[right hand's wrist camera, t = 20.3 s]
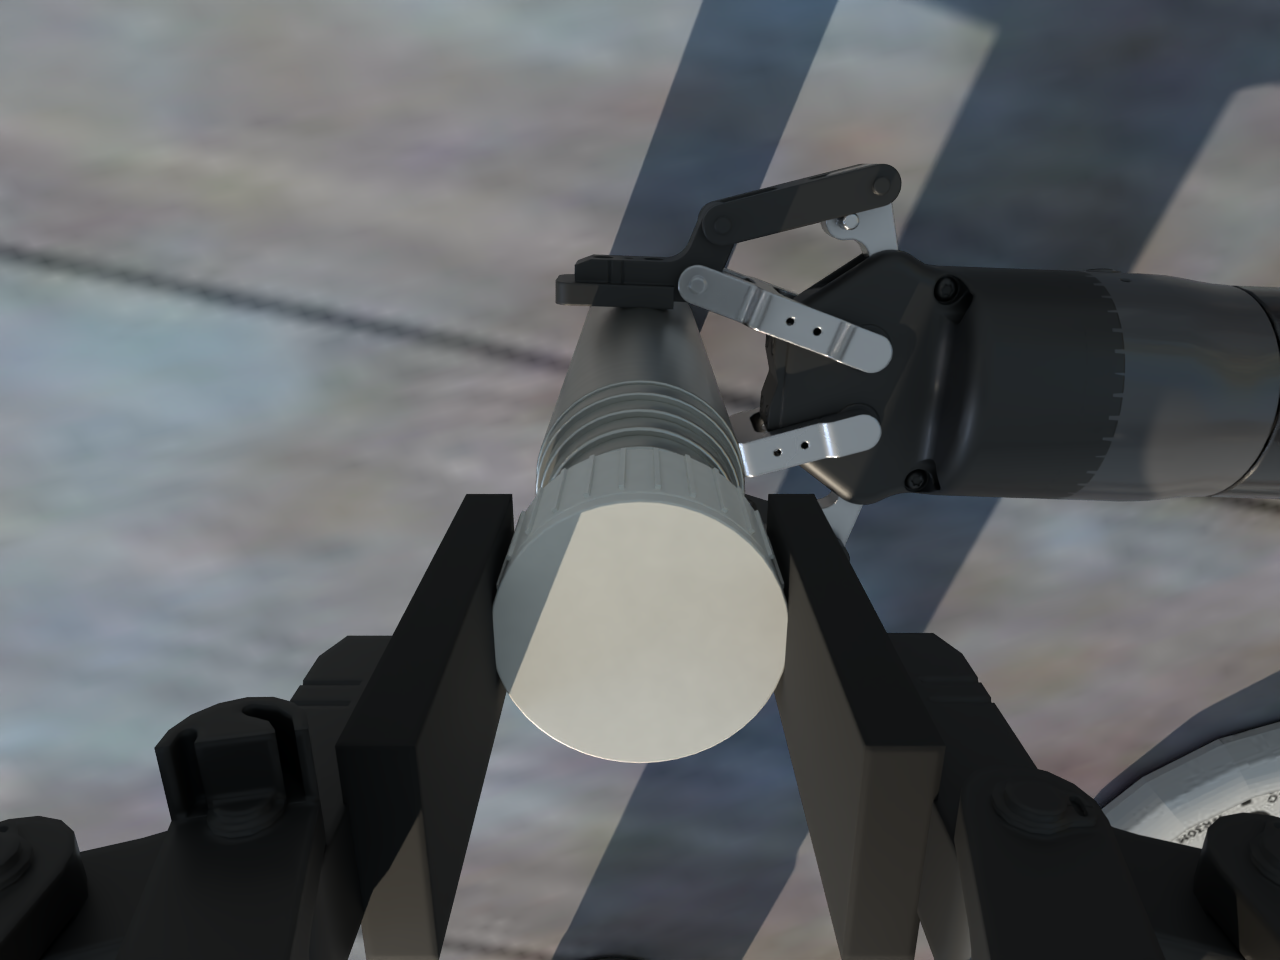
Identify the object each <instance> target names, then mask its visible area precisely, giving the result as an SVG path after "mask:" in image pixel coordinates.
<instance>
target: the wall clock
mask: <svg viewBox="0 0 1280 960" xmlns="http://www.w3.org/2000/svg"><path fill="white" fill-rule="evenodd" d="M1101 810H1102V811H1103V813H1104V814H1105V815H1106V817H1107V818H1108V820H1109V822H1110V825H1111V826H1112V827H1114V828H1118V829H1121V830H1125V831H1128V832H1131V833H1135V834H1138V835H1143V836H1147V837H1152V838H1156V839H1161V840H1165V841H1170V842H1174V843H1179V844H1183V845H1187V846H1192V847H1196V848H1201V849H1202V847H1203V843H1204V840H1205V836H1206V833H1207V829H1208V827H1209V826H1211V825H1212V824H1213V823H1214V822H1215V821H1216V820H1217V819H1218V818H1219V817H1221V816H1226V815H1231V814H1237V813H1242V812H1245V813H1254V814H1263V815H1272V816H1276V817H1279V818H1280V722H1277V723H1273V724H1270V725H1266V726H1263V727H1259V728H1256V729H1252V730H1249V731H1245V732H1241V733H1238V734H1234V735H1231V736H1227V737H1224V738H1220V739H1217V740H1215V741H1213V742H1211V743H1209V744H1207V745H1205V746H1203V747H1201V748H1199V749H1197V750H1195V751H1194V752H1192V753H1190V754H1188V755H1186V756H1184V757H1182V758H1180V759H1178V760H1176V761H1174V762H1172V763H1170V764H1168V765H1166V766H1164V767H1162V768H1160V769H1158V770H1156V771H1154V772H1152V773H1150V774H1148V775H1146V776H1144V777H1142V778H1141V779H1139V780H1138V781H1137V782H1136V783H1134V784H1133V785H1132V786H1131V787H1129V788H1128V789H1127V790H1126V791H1124V792H1123V793H1122V794H1120V795H1119V796H1118V797H1117V798H1115V799H1114V800H1113V801H1112V802H1110V803H1109V804H1108V805H1106V806H1105V807H1104V808H1103V809H1101Z"/></svg>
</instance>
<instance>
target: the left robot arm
mask: <svg viewBox="0 0 1280 960" xmlns="http://www.w3.org/2000/svg"><path fill="white" fill-rule="evenodd" d="M900 190H901V178H900V175H899V173H898V171H897V170H896V169H895V168H894V167H892V166H890V165H887V164H858V165H854V166H850V167H846V168H842V169H838V170H834V171H831V172H827V173H823V174H819V175H815V176H811V177H807V178H803V179H799V180H795V181H791V182H787V183H783V184H779V185H775V186H771V187H767V188H764V189H760V190H756V191H752V192H748V193H744V194H740V195H736V196H732V197H728V198H724V199H720V200H716V201H712V202H710V203H708V204H706V205H705V206H704V207H703V208H702V209H701V211H700V213H699V216H698V221H697V223H696V226H695V228H694V231H693V233H692V236H691V238H690V240H689V243H688V245H687V246H686V248H685V249H684V250H683V251H682V252H680V253H679V254H677V255H675V256H672V257H643V256H617V255H591V256H588V257H585V258H583V259H580V260H578V261H577V263H576V264H575V274H564V275H559V276H558V278H557V279H556V303H557V304H561V305H573V306H599V307H625V308H638V307H640V308H652V309H673V307H674V302H688V303H690V304H693V305H695V306H698V307H701V308H703V309H706V310H709V311H711V312H714V313H717V314H720V315H722V316H725V317H728V318H730V319H733V320H736V321H738V322H740V323H742V324H744V325H746V326H748V327H750V328H752V329H754V330H757V331H759V332H762V333H765V334H766V344H765V348H766V353H767V359H768V364H769V372H768V375H767V378H766V380H765V383H764V386H763V388H762V391H761V401H760V407H759V408H755V409H751V410H748V411H744V412H740V413H737V414H734V415H732V416H730V417H729V419H730V422H731V425H732V428H733V431H734V434H735V436H736V439H737V442H738V445H739V448H740V451H741V454H742V459H743V465H744V476H745V477H755V476H759V475H763V474H767V473H771V472H775V471H778V470H782V469H786V468H790V467H794V466H797V465H799V466H801V467H802V468H803V469H804V470H806V471H807V472H808V473H810V474H811V475H812V476H813V477H815V478H816V479H817V480H819V481H820V482H821V483H822V484H824V485H825V486H826V487H828V488H829V489H830V490H831V492H830V493H829V494H828V495H827V496H826V497H824V498H821V499H817V501H818V503H819V505H820V506H821V508H822V510H823V512H824V514H825V516H826V518H827V520H828V522H829V524H830V526H831V527H832V529H833V531H834V533H835V535H836V537H837V539H838V541H839V543H840V545H841V547H842V548H843V550H844V552H845V554H846V556H847V558H848V560H849V562H850V557H849V554H848V552H847V550H846V548H845V545H846V542H847V540H848V537H849V535H850V533H851V531H852V528H853V526H854V524H855V522H856V519H857V517H858V515H859V513H860V510H861V508H862V506H863V505H867V504H872V503H876V502H878V501H880V500H882V499H884V498H886V497H889V496H892V495H895V494H899V493H907V492H911V493H921V494H931V495H952V496H980V497H1009V498H1041V499H1067V500H1097V501H1148V500H1160V499H1168V498H1177V497H1198V496H1210V497H1238V498H1266V499H1280V288H1279V287H1253V286H1230V285H1220V284H1211V283H1205V282H1199V281H1194V280H1189V279H1184V278H1178V277H1172V276H1165V275H1153V274H1134V273H1121V272H1119V271H1114V270H1112V269H1090V270H1086V271H1083V272H1081V271H1061V270H1034V269H1008V268H982V267H955V266H935V265H927V264H924V263H922V262H920V261H919V260H917V259H916V258H915V257H913V256H912V255H910V254H908V253H906V252H903V251H900V250H898V243H897V236H896V228H895V221H894V213H893V206H892V202H893V201H894V200H895V199H896V198H897V196H898V194H899V192H900ZM819 222H821V226H822V228H823V230H824V231H825V233H826V234H828V235H829V236H831V237H834V238H836V239H840V240H855V241H856V242H857V243H858V244H859V245H860V247H861V249H862V254H860V255H859V256H857V257H856V258H854V259H853V260H851V261H850V262H848V263H847V264H845V265H844V266H842V267H840V268H839V269H837V270H836V271H834V272H833V273H831V274H830V275H828V276H827V277H825V278H824V279H822V280H820V281H819V282H817V283H816V284H814V285H813V286H811V287H810V288H808V289H807V290H805V291H804V292H802V293H800V294H796V293H793V292H791V291H788V290H786V289H783V288H780V287H778V286H775V285H772V284H770V283H767V282H764V281H762V280H759V279H756V278H753V277H750V276H746V275H743V274H740V273H738V272H735V271H732V270H730V269H727V268H724V267H725V264H726V262H727V260H728V257H729V255H730V253H731V250H732V248H733V246H734V244H735V243H739V242H743V241H747V240H751V239H755V238H759V237H763V236H767V235H771V234H775V233H779V232H783V231H787V230H791V229H795V228H799V227H803V226H807V225H811V224H815V223H819ZM763 424H764V425H765V426H762V425H763ZM776 449H779V450H778V451H776V452H774V451H775V450H776ZM745 498H746V499H747V501H748V502H749V503H750V505H751V506H752V508H753V509H754V511H756V510H758V511H759V513H760V516H761V519H762V522H763V525H764V527H765V530H766V529H767V511H768V501H766V500H763V499H760V498H757V497H753V496H750V495H747V494H745ZM597 960H630V959H620V958H606V959H597Z"/></svg>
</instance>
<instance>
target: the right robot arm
mask: <svg viewBox="0 0 1280 960" xmlns="http://www.w3.org/2000/svg"><path fill="white" fill-rule="evenodd" d="M766 533H767V536H768V537H769V540H770V543H771V546H772V549H773V552H774V555H775V558H776V561H777V564H778V567H779V570H780V573H781V576H782V578H783V581H784V588H783V591H784V594H785V597H786V600H787V603H788V622H787V636H786V651H785V665H784V671H783V673H782V676H781V678H780V680H779V682H778V684H777V686H776V688H775V690H774V693H775V697H776V701H777V705H778V709H779V713H780V717H781V721H782V725H783V729H784V733H785V737H786V741H787V745H788V749H789V753H790V757H791V761H792V765H793V769H794V773H795V777H796V781H797V785H798V789H799V792H800V796H801V800H802V804H803V808H804V812H805V816H806V820H807V824H808V828H809V832H810V836H811V840H812V844H813V848H814V852H815V856H816V860H817V864H818V868H819V872H820V876H821V880H822V884H823V888H824V892H825V896H826V899H827V903H828V907H829V911H830V915H831V919H832V923H833V927H834V931H835V935H836V939H837V943H838V947H839V951H840V955H841V959H842V960H914V957H915V950H916V943H917V936H918V930H919V923H920V922H921V924H922V927H923V930H924V932H925V935H926V938H927V941H928V943H929V946H930V949H931V951H932V954H933V957H934V960H1280V818H1279V817H1276V816H1272V815H1263V814H1254V813H1245V812H1242V813H1237V814H1231V815H1226V816H1221V817H1219V818H1218V819H1217V820H1216V821H1215V822H1214V823H1213V824H1212V825H1211V826H1209V827H1208V829H1207V833H1206V836H1205V840H1204V843H1203V847H1202V849H1201V848H1196V847H1192V846H1187V845H1183V844H1179V843H1174V842H1170V841H1165V840H1161V839H1156V838H1152V837H1147V836H1143V835H1138V834H1135V833H1131V832H1128V831H1125V830H1121V829H1118V828H1114V827H1112V826H1111V825H1110V822H1109V820H1108V818H1107V817H1106V815H1105V814H1104V813H1103V811H1102V810H1101V808H1100V807H1099V805H1098V804H1097V802H1096V801H1095V800H1094V799H1092V798H1091V797H1090V796H1089V795H1087V794H1086V793H1085V792H1084V791H1082V790H1081V789H1080V788H1078V787H1077V786H1076V785H1075V784H1073V783H1071V782H1069V781H1067V780H1064V779H1062V778H1060V777H1058V776H1056V775H1054V774H1052V773H1050V772H1047V771H1043V770H1039V769H1037V767H1036V766H1035V764H1034V763H1033V761H1032V760H1031V758H1030V757H1029V755H1028V753H1027V752H1026V750H1025V749H1024V747H1023V746H1022V744H1021V743H1020V741H1019V740H1018V738H1017V737H1016V735H1015V734H1014V732H1013V731H1012V729H1011V728H1010V726H1009V724H1008V723H1007V721H1006V720H1005V718H1004V717H1003V715H1002V714H1001V712H1000V711H999V709H998V708H997V706H996V705H995V703H991V697H990V695H989V694H988V692H987V691H986V689H985V688H984V686H983V685H982V683H978V677H977V676H976V674H975V673H974V671H973V669H972V668H971V666H970V665H969V663H968V662H967V660H966V659H965V657H964V656H963V654H962V653H960V652H959V651H958V650H956V649H955V648H953V647H952V646H951V645H949V644H948V643H946V642H945V641H944V640H942V639H941V638H939V637H938V636H937V635H935V634H934V633H886V631H885V629H884V627H883V625H882V623H881V621H880V619H879V617H878V615H877V613H876V612H875V610H874V608H873V606H872V604H871V602H870V600H869V598H868V596H867V594H866V592H865V591H864V589H863V587H862V585H861V583H860V581H859V579H858V577H857V575H856V573H855V571H854V570H853V568H852V566H851V564H850V562H849V560H848V558H847V556H846V554H845V552H844V550H843V548H842V547H841V545H840V543H839V541H838V539H837V537H836V535H835V533H834V531H833V529H832V527H831V526H830V524H829V522H828V520H827V518H826V516H825V514H824V512H823V510H822V508H821V506H820V505H819V503H818V501H817V499H816V497H815V495H814V494H768V511H767V529H766ZM513 535H514V520H513V501H512V494H466V496H465V498H464V500H463V502H462V504H461V506H460V507H459V509H458V511H457V513H456V515H455V517H454V519H453V521H452V523H451V525H450V527H449V528H448V530H447V532H446V534H445V536H444V538H443V540H442V542H441V544H440V546H439V548H438V550H437V551H436V553H435V555H434V557H433V559H432V561H431V563H430V565H429V567H428V569H427V571H426V572H425V574H424V576H423V578H422V580H421V582H420V584H419V586H418V588H417V590H416V592H415V593H414V595H413V597H412V599H411V601H410V603H409V605H408V607H407V609H406V611H405V613H404V614H403V616H402V618H401V620H400V622H399V624H398V626H397V628H396V630H395V632H394V634H393V636H347V637H345V638H344V639H342V640H341V641H340V642H338V643H337V644H335V645H334V646H333V647H331V648H330V649H329V650H327V651H326V652H324V653H323V654H322V655H320V656H319V657H318V658H317V660H316V662H315V663H314V665H313V666H312V668H311V669H310V671H309V672H308V674H307V675H306V677H305V678H304V680H303V685H300V686H299V688H298V689H297V691H296V692H295V694H294V695H293V697H292V698H291V700H290V701H287V700H283V699H279V698H276V697H246V698H241V699H237V700H232V701H227V702H223V703H218V704H216V705H214V706H211V707H209V708H206V709H204V710H202V711H199V712H197V713H194V714H192V715H190V716H189V717H187V718H186V719H184V720H183V721H181V722H180V723H178V724H177V725H176V726H174V727H173V728H171V729H170V730H168V732H167V733H166V734H165V735H164V737H163V738H162V739H161V740H160V742H159V743H158V744H157V745H156V747H155V753H156V757H157V761H158V765H159V770H160V774H161V778H162V782H163V786H164V791H165V795H166V799H167V803H168V808H169V812H170V816H171V820H172V821H171V824H170V826H169V829H168V831H165V832H162V833H158V834H155V835H151V836H148V837H145V838H141V839H136V840H132V841H127V842H123V843H118V844H114V845H109V846H105V847H101V848H96V849H92V850H87V851H83V852H80V851H79V848H78V844H77V841H76V837H75V834H74V831H73V830H71V829H70V828H69V827H68V826H67V825H66V824H65V823H64V822H63V821H62V820H58V819H52V818H47V817H42V816H33V817H24V818H15V819H8V820H5V821H1V822H0V960H348V957H349V954H350V952H351V949H352V946H353V944H354V941H355V938H356V935H357V933H358V930H359V927H360V924H361V926H362V933H363V940H364V946H365V953H366V960H439V957H440V953H441V949H442V945H443V941H444V937H445V933H446V929H447V925H448V921H449V917H450V913H451V909H452V905H453V902H454V898H455V894H456V890H457V886H458V882H459V878H460V874H461V870H462V866H463V862H464V858H465V854H466V850H467V846H468V842H469V838H470V834H471V830H472V826H473V822H474V818H475V814H476V810H477V806H478V802H479V798H480V794H481V790H482V787H483V783H484V779H485V775H486V771H487V767H488V763H489V759H490V755H491V751H492V747H493V743H494V739H495V735H496V731H497V727H498V723H499V719H500V715H501V711H502V707H503V703H504V699H505V695H506V689H505V687H504V685H503V683H502V681H501V679H500V677H499V674H498V672H497V669H496V658H495V643H494V628H493V612H492V606H493V602H494V599H495V596H496V592H497V585H496V584H497V581H498V578H499V575H500V572H501V569H502V566H503V564H504V561H505V558H506V555H507V552H508V549H509V546H510V543H511V540H512V537H513Z"/></svg>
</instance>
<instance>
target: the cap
mask: <svg viewBox="0 0 1280 960" xmlns="http://www.w3.org/2000/svg"><path fill="white" fill-rule="evenodd" d="M496 585H497V592H496V596H495V599H494V602H493V606H492V612H493V628H494V643H495V658H496V669H497V672H498V674H499V677H500V679H501V681H502V683H503V685H504V687H505V689H506V691H507V692H508V694H509V695H510V697H511V699H512V700H513V702H514V703H515V704H516V706H517V707H518V708H519V709H520V710H521V711H522V713H523V714H524V715H525V716H526V717H527V718H528V719H529V720H530V721H531V722H532V723H534V724H535V725H536V726H537V727H538V728H539V729H540V730H542V731H543V732H545V733H546V734H548V735H549V736H550V737H552V738H553V739H555V740H557V741H559V742H560V743H562V744H564V745H566V746H568V747H570V748H572V749H575V750H577V751H580V752H582V753H585V754H588V755H591V756H595V757H599V758H602V759H607V760H613V761H620V762H633V763H648V762H661V761H667V760H673V759H679V758H682V757H686V756H689V755H693V754H696V753H698V752H701V751H703V750H706V749H708V748H711V747H713V746H715V745H716V744H718V743H720V742H722V741H724V740H726V739H727V738H729V737H730V736H732V735H733V734H734V733H736V732H737V731H739V730H740V729H741V728H743V727H744V726H745V725H746V724H747V723H748V722H749V721H750V720H751V719H752V718H754V717H755V716H756V714H757V713H758V712H759V711H760V710H761V709H762V707H763V706H764V705H765V704H766V703H767V701H768V699H769V698H770V696H771V695H772V693H773V692H774V690H775V688H776V686H777V684H778V682H779V680H780V678H781V676H782V673H783V671H784V665H785V651H786V636H787V622H788V603H787V600H786V597H785V594H784V591H783V588H784V581H783V578H782V576H781V573H780V570H779V567H778V564H777V561H776V558H775V555H774V552H773V549H772V546H771V543H770V540H769V537H768V536H767V533H766V530H765V527H764V525H763V522H762V519H761V516H760V513H759V511H758V510H756V511H754V509H753V508H752V506H751V505H750V503H749V502H748V501H747V499H746V498H745V497H744V494H743V491H742V489H741V488H740V487H737V488H736V487H735V486H734V485H733V484H732V483H731V482H730V481H729V480H727V479H726V478H725V477H724V476H723V475H721V474H720V473H719V470H718V469H717V468H715V467H714V468H713V469H712V468H710V467H709V466H707V465H705V464H703V463H701V462H698V461H696V460H694V459H692V458H690V455H687V454H685V456H683V455H680V454H677V453H672V452H667V451H662V450H659V448H653V449H628V450H626V448H621V450H619V451H614V452H608V453H604V454H601V455H598V456H595V455H591V456H589V459H586V460H584V461H582V462H580V463H578V464H576V465H574V466H572V467H570V468H569V469H566V468H564V469H562V470H561V473H560V474H559V475H558V476H557V477H556V478H554V479H553V480H552V481H551V482H550V483H549V484H547V485H546V486H545V487H544V488H542V487H540V488H539V489H538V491H537V494H536V497H535V498H534V500H533V501H532V503H531V504H530V506H529V507H528V509H527V510H526V512H525V511H522V512H521V514H520V517H519V520H518V523H517V526H516V529H515V532H514V535H513V537H512V540H511V543H510V546H509V549H508V552H507V555H506V558H505V561H504V564H503V566H502V569H501V572H500V575H499V578H498V581H497V584H496Z"/></svg>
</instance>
